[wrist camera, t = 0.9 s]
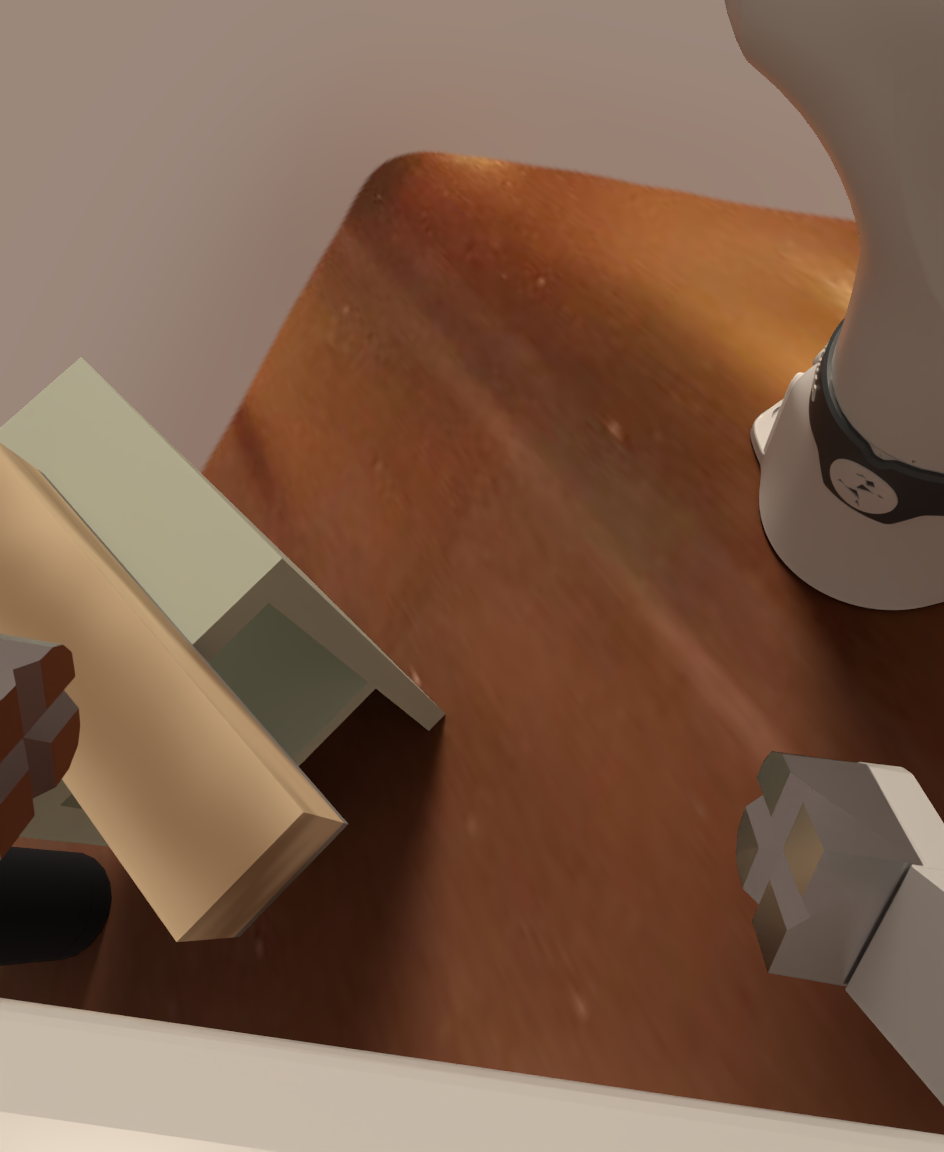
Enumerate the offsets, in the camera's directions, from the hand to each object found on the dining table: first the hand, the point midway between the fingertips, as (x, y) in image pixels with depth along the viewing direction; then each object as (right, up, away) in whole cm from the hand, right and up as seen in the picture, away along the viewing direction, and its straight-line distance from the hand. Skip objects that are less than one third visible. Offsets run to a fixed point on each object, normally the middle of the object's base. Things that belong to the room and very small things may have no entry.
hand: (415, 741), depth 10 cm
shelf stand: (-10, -7, +45) cm, 46 cm away
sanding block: (-11, -1, +19) cm, 22 cm away
